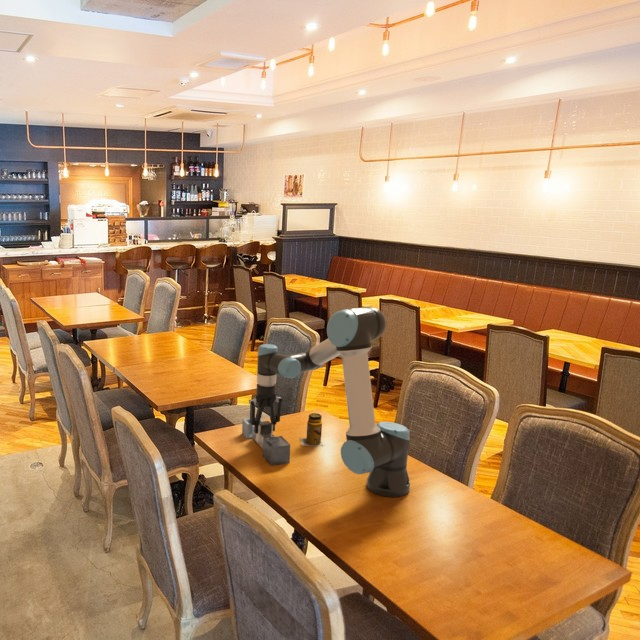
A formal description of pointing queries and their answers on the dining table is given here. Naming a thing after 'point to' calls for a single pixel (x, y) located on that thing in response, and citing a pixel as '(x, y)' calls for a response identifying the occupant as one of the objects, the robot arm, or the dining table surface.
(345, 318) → the robot arm
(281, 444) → the sleeve
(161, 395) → the dining table surface
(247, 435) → the socket
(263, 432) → the light gray bar
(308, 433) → the yellow drink bottle
